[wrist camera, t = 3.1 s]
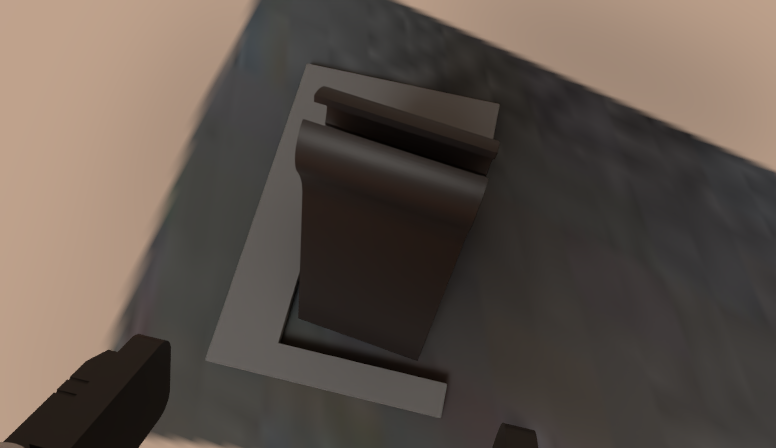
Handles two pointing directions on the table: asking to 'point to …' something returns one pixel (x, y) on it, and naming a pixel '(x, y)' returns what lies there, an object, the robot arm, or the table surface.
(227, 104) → the table surface
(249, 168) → the table surface
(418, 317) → the phone stand
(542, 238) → the table surface
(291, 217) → the bracket
